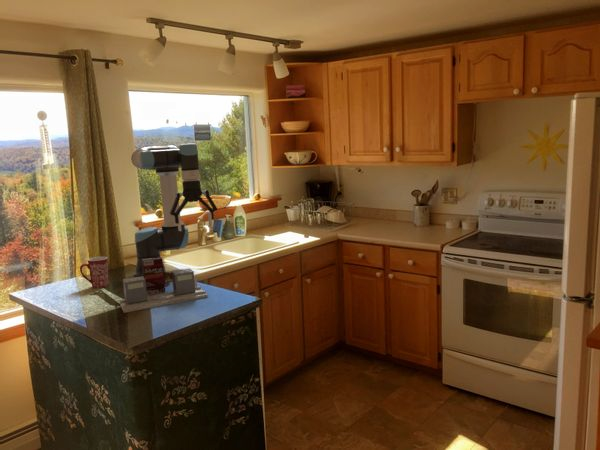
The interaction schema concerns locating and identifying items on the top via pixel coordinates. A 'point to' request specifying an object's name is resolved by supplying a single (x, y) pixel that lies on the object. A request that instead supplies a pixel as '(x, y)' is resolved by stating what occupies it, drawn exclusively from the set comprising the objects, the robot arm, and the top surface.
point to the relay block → (195, 281)
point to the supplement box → (153, 275)
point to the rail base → (181, 292)
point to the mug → (97, 271)
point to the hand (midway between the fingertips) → (195, 229)
